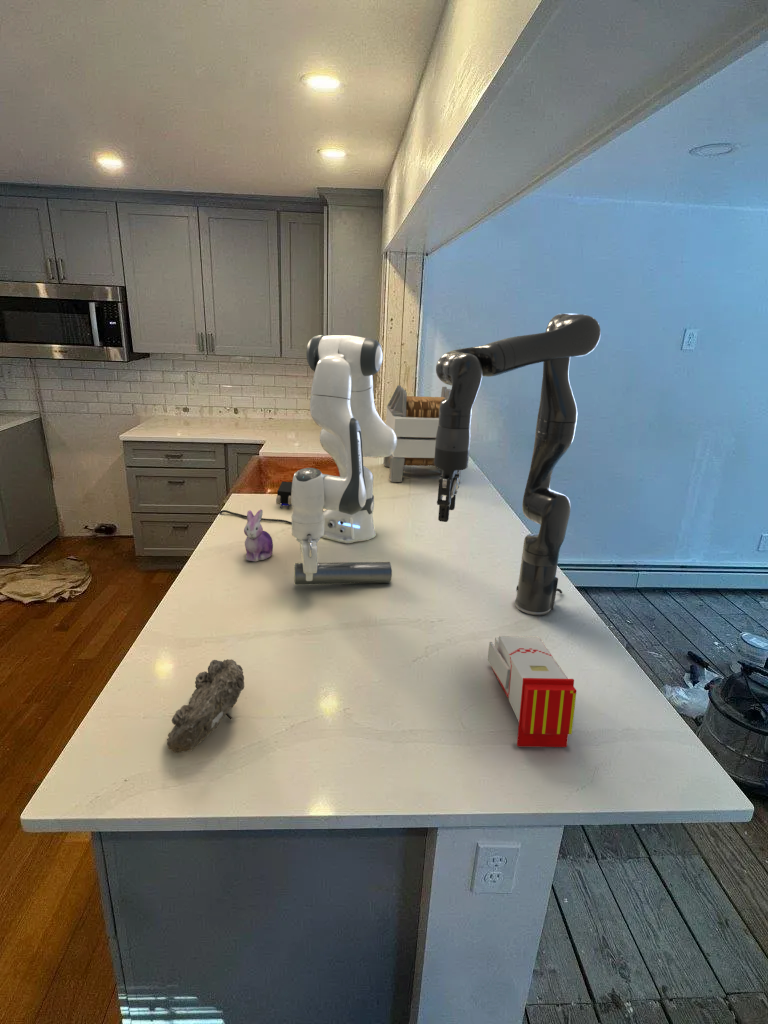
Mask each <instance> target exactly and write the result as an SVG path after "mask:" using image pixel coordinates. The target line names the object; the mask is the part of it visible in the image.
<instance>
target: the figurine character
mask: <svg viewBox="0 0 768 1024" xmlns="http://www.w3.org/2000/svg"><path fill="white" fill-rule="evenodd" d="M291 490H292V481H284V480H283V481H281V483H280V485H279V487H278V489H277V494H276V498H275V499H276V500H275V503H276V505H279V508H280V509H283V506H285V507H287V509H290V508H291V506H292V504H291Z"/></svg>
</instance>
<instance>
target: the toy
mask: <svg viewBox="0 0 768 1024" xmlns="http://www.w3.org/2000/svg"><path fill="white" fill-rule="evenodd" d="M488 643H489V644H488V651H487V658H486V659H487V662H488V664H489V666H490V668H491V669H492V672H493V674H494V675H495V677H496V679H497V681H498V682H499V684H500V687H501V688H502V691H503V692H504V694H505V697H507V699H508V702H509V705H510V706H511V709H512V710H513V713H514V714H515V717H516V720H517V721H518V728H517V729H518V730H517V741H516V746H517V747H520V748H521V747H522V748H523V747H525V748H527V747H529V748H531V747H532V748H533V747H534V748H545V747H546V748H567V747H568V740H569V735H572V733H573V725H574V716H575V708H576V700H577V689H576V687H575V686H574V685H575V679H574V678H569V677H568V676H567V675H566V673H565V672H564V670H563V669H562V668H561V667H560V665H559V663H558V662H557V661H556V659H555V658H554V656H553V654H552V653H551V652H550V650H549V649H548V648H547V646H546V644H545V642H544V641H543V640H542V639H541V638H540V636H534V635H533V636H532V635H530V636H527V635H526V636H525V635H524V636H523V635H498V637H497V636H496V637H494V643H493V641H489V642H488Z"/></svg>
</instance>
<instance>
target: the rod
mask: <svg viewBox="0 0 768 1024" xmlns="http://www.w3.org/2000/svg"><path fill="white" fill-rule="evenodd" d="M293 565H294V566H293V583H294V585H295V586H296V585H297V586H300V585H301V586H302V585H303V586H305V585H347V584H351V585H352V584H353V585H355V584H390V583H391V582H392V575H393V574H392V571H393V570H392V565H391V562H390V561H348V562H347V561H345V562H344V561H343V562H340V561H339V562H337V561H336V562H335V561H334V562H317V573H313V580H312V581H306V574H305V573H304V571H303V564H302V562H294V564H293Z"/></svg>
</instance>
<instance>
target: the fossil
mask: <svg viewBox="0 0 768 1024" xmlns="http://www.w3.org/2000/svg"><path fill="white" fill-rule="evenodd" d="M243 670H244V669H243V667H242V665H240V664H237V662H236V661H235V660H234V659H232V658H231V659H227V658H226V659H224V660H223V661H222V660H217V659H212V660H211V661H210V663H209V665H208V666H207V671H201V672H199V673H198V674H197V675H196V676H195V680H194V684H195V685H194V687H195V689H194V690H193V693H192V694H191V697H190V698H189V700H188V704H184V705H182V706H181V707H180V709H177V710H176V711H175V713H174V715H173V716H172V718H171V723H172V724H173V727H172V730H171V731H170V732H168V734H167V738H166V741H167V742H166V745H167V749H168V750H169V751H173V752H174V753H176V754H178V753H182V752H188V751H189V752H192V751H193V750H195V748H196V747H197V746H199V744H200V743H201V742H203V741H204V740H205V739H206V738H207V737H208V736H209V735H210V734H211V733H212V732H214V730H215V729H217V727H218V726H219V724H220V722H221V721H222V720H223V719H224V718H225V716H226V717H227V719H229V720H233V717H232V715H230V714H229V710H230V709H231V708H234V706H235V704H236V703H237V702H238V699H239V697H240V695H241V693H242V691H243V690H245V689H244V688H245V675H244V671H243Z"/></svg>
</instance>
